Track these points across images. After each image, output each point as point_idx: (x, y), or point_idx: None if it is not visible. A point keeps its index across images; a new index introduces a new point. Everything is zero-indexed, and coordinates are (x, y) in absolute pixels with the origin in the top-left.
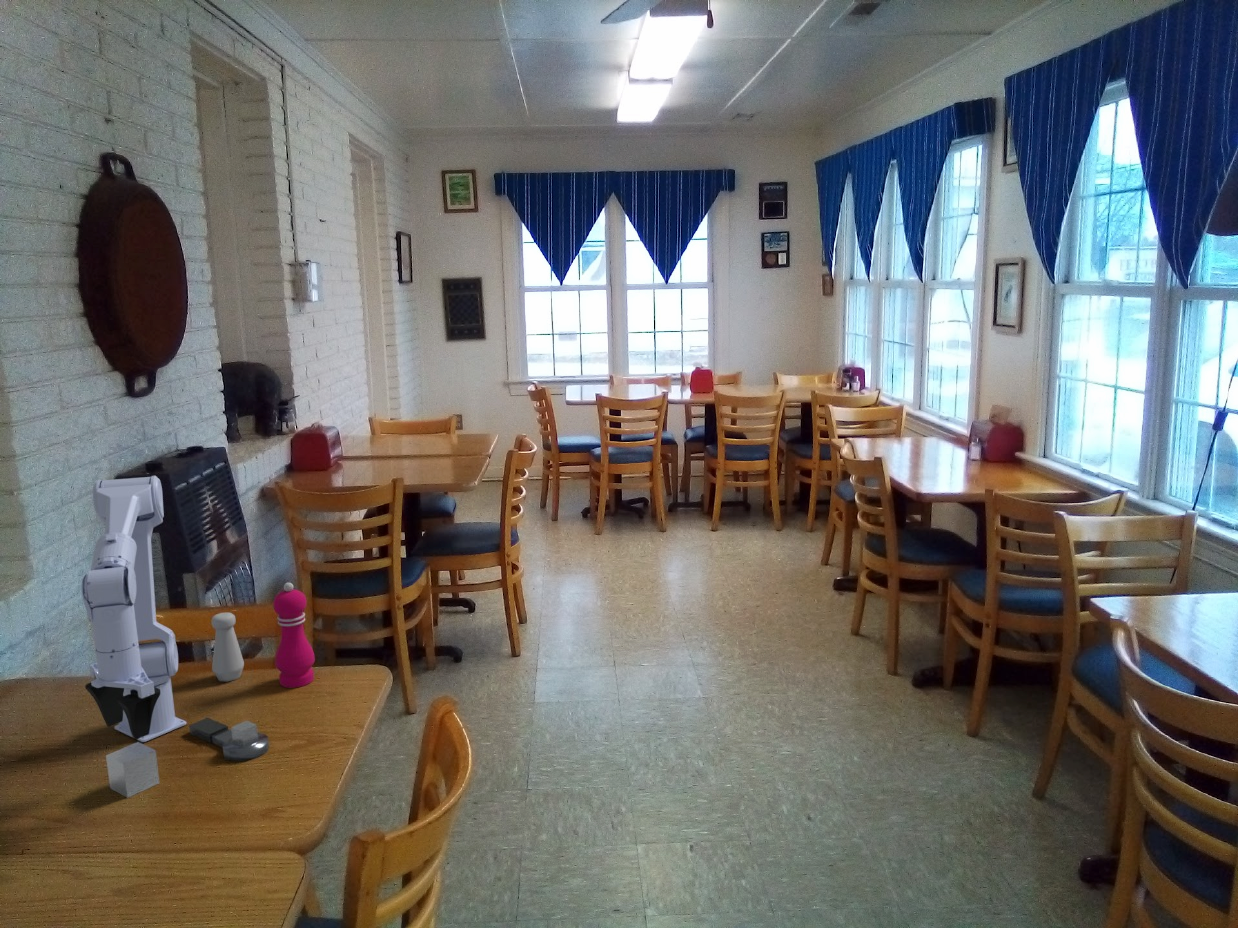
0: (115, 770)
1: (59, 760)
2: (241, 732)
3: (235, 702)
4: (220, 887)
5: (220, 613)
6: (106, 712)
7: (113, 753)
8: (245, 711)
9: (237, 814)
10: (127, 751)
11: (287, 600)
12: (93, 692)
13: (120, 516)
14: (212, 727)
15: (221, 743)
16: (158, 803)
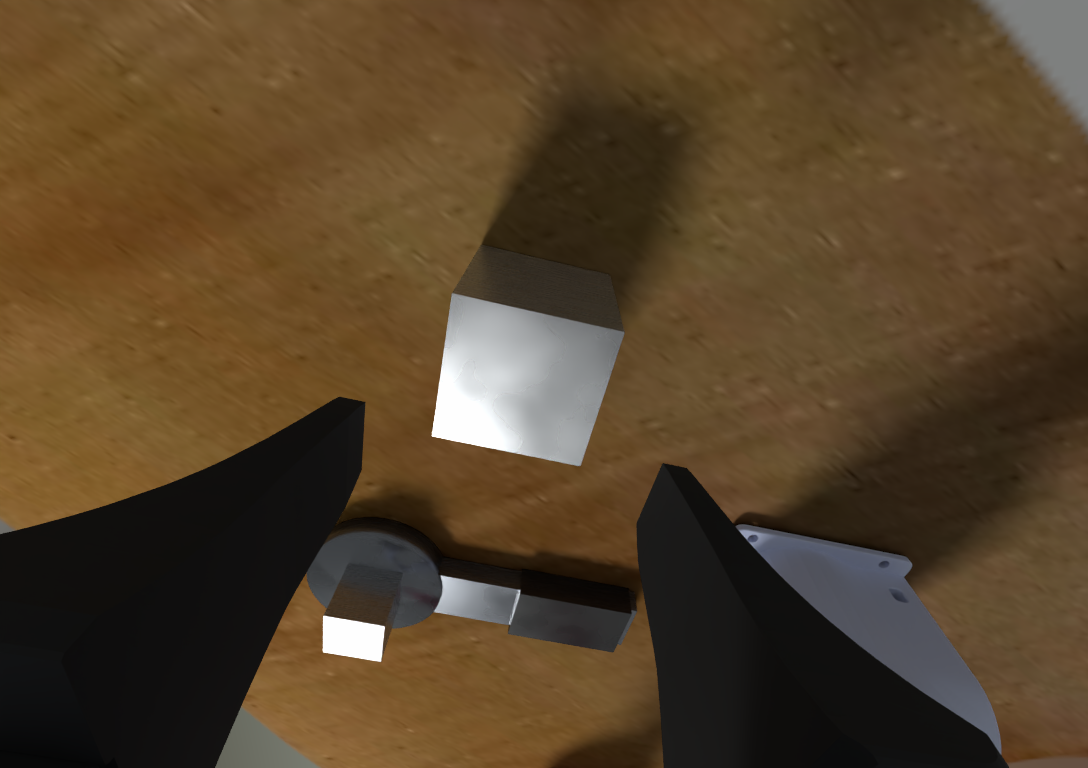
0: (545, 292)
1: (984, 362)
2: (325, 612)
3: (639, 711)
4: None
5: None
6: (690, 535)
7: (600, 357)
8: (573, 689)
9: (19, 293)
10: (550, 391)
11: None
12: (811, 699)
13: None
14: (548, 620)
15: (467, 570)
16: (333, 254)
